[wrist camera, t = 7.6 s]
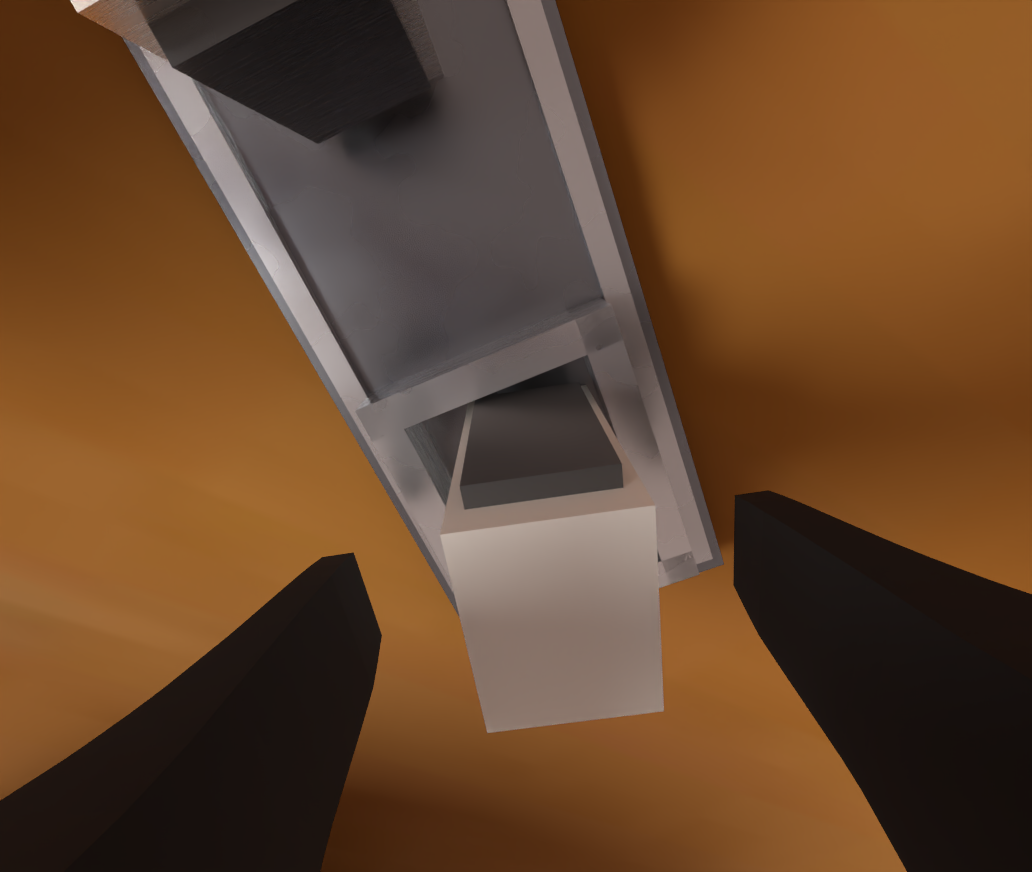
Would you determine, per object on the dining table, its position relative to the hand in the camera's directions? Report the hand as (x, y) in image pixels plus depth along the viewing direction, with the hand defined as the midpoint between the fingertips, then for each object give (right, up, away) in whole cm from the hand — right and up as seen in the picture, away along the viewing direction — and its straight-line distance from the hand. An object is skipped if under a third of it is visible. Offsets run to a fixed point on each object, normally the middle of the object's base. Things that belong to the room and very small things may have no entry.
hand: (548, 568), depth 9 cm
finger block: (0, +2, +4) cm, 4 cm away
